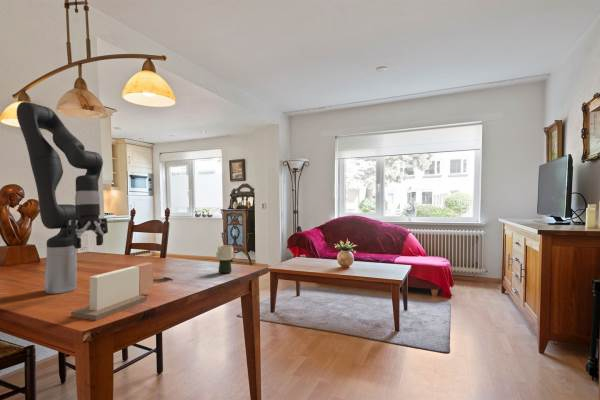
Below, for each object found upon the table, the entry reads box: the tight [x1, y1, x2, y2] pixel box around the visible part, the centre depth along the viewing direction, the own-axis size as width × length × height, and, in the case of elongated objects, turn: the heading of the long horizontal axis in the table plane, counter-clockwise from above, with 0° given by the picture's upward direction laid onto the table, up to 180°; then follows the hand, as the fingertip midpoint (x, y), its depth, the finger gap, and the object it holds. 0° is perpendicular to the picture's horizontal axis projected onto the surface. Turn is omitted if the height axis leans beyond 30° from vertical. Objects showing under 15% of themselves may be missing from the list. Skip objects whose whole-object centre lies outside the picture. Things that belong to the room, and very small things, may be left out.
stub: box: [134, 262, 154, 295], centre depth 111 cm, size 3×6×10 cm, turn 163°
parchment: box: [153, 277, 174, 287], centre depth 125 cm, size 25×10×1 cm, turn 150°
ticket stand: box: [70, 265, 148, 322], centre depth 98 cm, size 10×19×12 cm, turn 163°
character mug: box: [215, 244, 235, 274], centre depth 148 cm, size 11×7×13 cm, turn 147°
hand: (89, 246), depth 113 cm, fingers open, 8 cm apart
